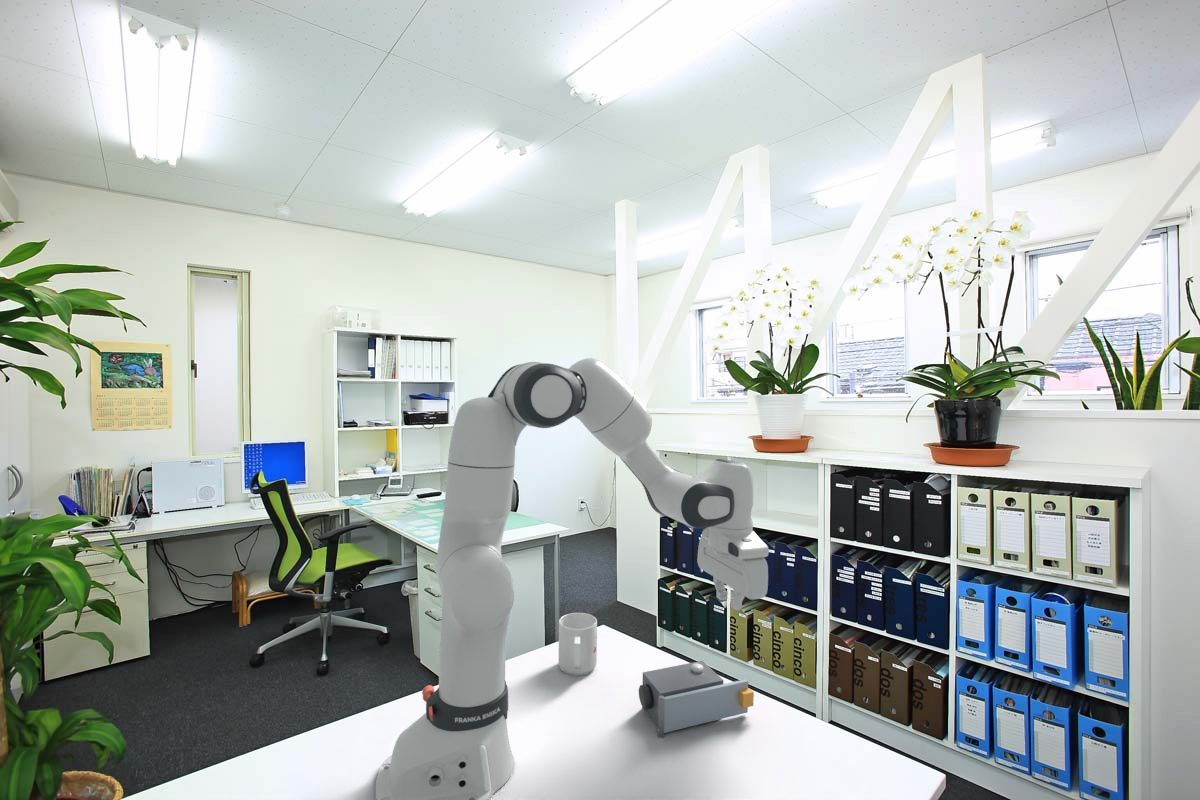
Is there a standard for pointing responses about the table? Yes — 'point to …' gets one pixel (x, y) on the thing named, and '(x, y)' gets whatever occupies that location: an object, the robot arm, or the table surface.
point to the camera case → (674, 684)
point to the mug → (577, 643)
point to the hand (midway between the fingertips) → (728, 603)
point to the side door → (703, 706)
